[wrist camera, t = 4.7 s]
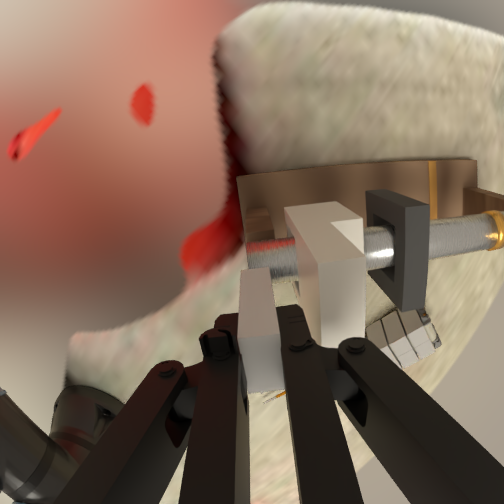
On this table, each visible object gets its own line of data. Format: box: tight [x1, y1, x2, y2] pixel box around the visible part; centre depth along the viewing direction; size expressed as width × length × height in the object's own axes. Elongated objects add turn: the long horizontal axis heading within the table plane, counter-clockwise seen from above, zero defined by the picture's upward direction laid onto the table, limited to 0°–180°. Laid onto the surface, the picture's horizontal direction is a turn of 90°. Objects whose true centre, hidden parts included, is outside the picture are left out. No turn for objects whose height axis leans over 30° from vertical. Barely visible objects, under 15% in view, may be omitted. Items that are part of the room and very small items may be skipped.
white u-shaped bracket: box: [284, 201, 366, 348], centre depth 19 cm, size 4×6×12 cm, turn 8°
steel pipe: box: [246, 210, 504, 284], centre depth 21 cm, size 27×3×3 cm, turn 98°
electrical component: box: [260, 307, 441, 404], centre depth 38 cm, size 24×6×5 cm, turn 128°
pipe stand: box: [236, 159, 504, 243], centre depth 28 cm, size 28×10×10 cm, turn 98°
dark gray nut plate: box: [365, 189, 430, 312], centre depth 22 cm, size 2×7×7 cm, turn 8°
